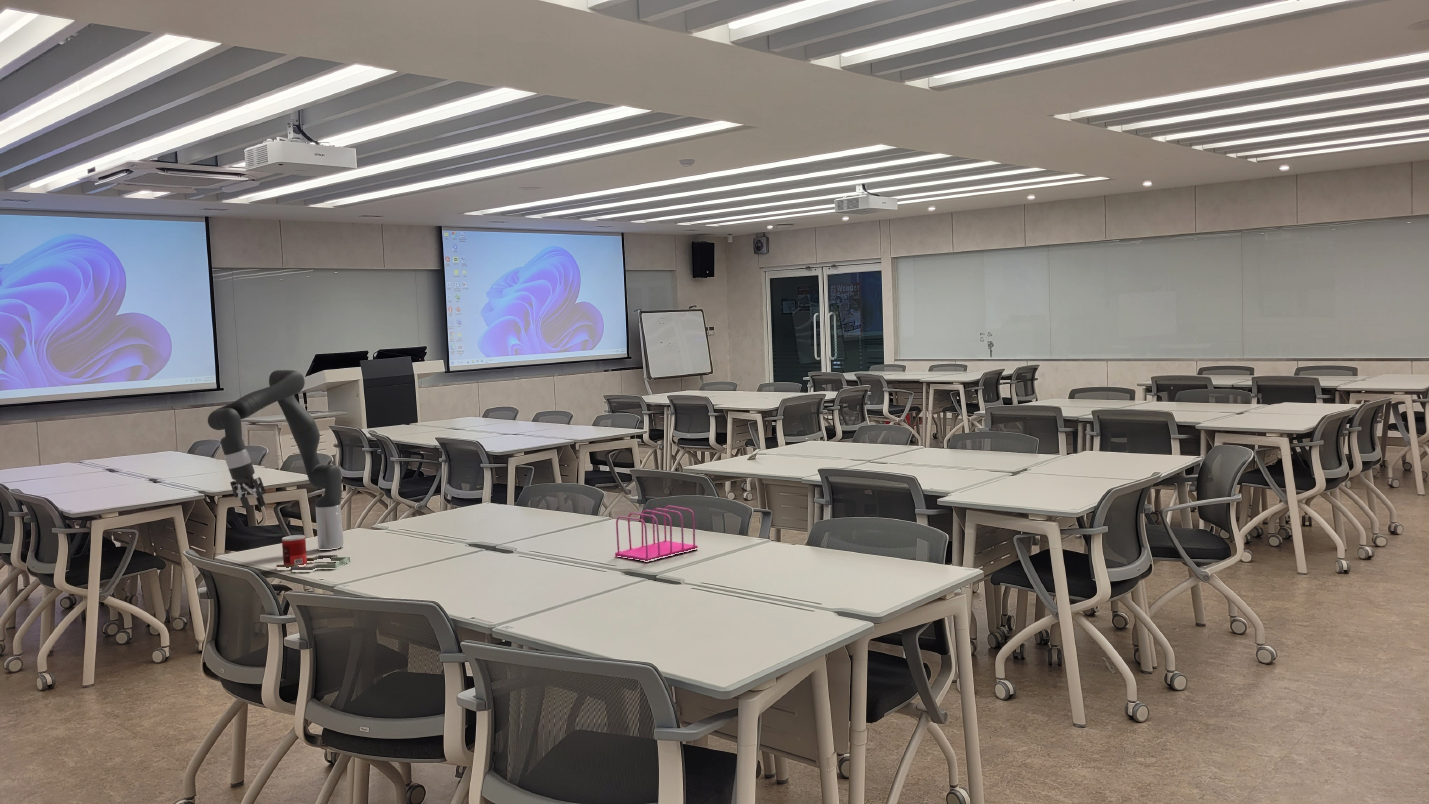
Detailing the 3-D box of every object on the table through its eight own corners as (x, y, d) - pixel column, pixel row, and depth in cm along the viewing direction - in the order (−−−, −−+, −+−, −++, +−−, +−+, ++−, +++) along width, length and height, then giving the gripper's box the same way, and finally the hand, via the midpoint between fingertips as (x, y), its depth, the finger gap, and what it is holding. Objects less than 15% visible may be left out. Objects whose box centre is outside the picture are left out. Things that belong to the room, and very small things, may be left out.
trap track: (298, 560, 363) (298, 555, 363) (355, 559, 360) (354, 554, 360) (270, 573, 344) (270, 567, 344) (329, 572, 342) (329, 566, 342)
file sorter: (698, 550, 354) (696, 508, 353) (646, 563, 336) (644, 519, 335) (666, 544, 366) (664, 503, 365) (614, 557, 349) (612, 514, 348)
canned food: (311, 564, 356) (309, 534, 356) (299, 569, 349) (297, 539, 348) (291, 564, 357) (289, 534, 357) (279, 569, 349) (277, 539, 349)
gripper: (261, 458, 338) (276, 502, 341) (236, 461, 345) (250, 504, 348) (243, 466, 332) (258, 510, 335) (217, 469, 339) (232, 512, 342)
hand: (254, 507), depth 342 cm, fingers open, 8 cm apart
